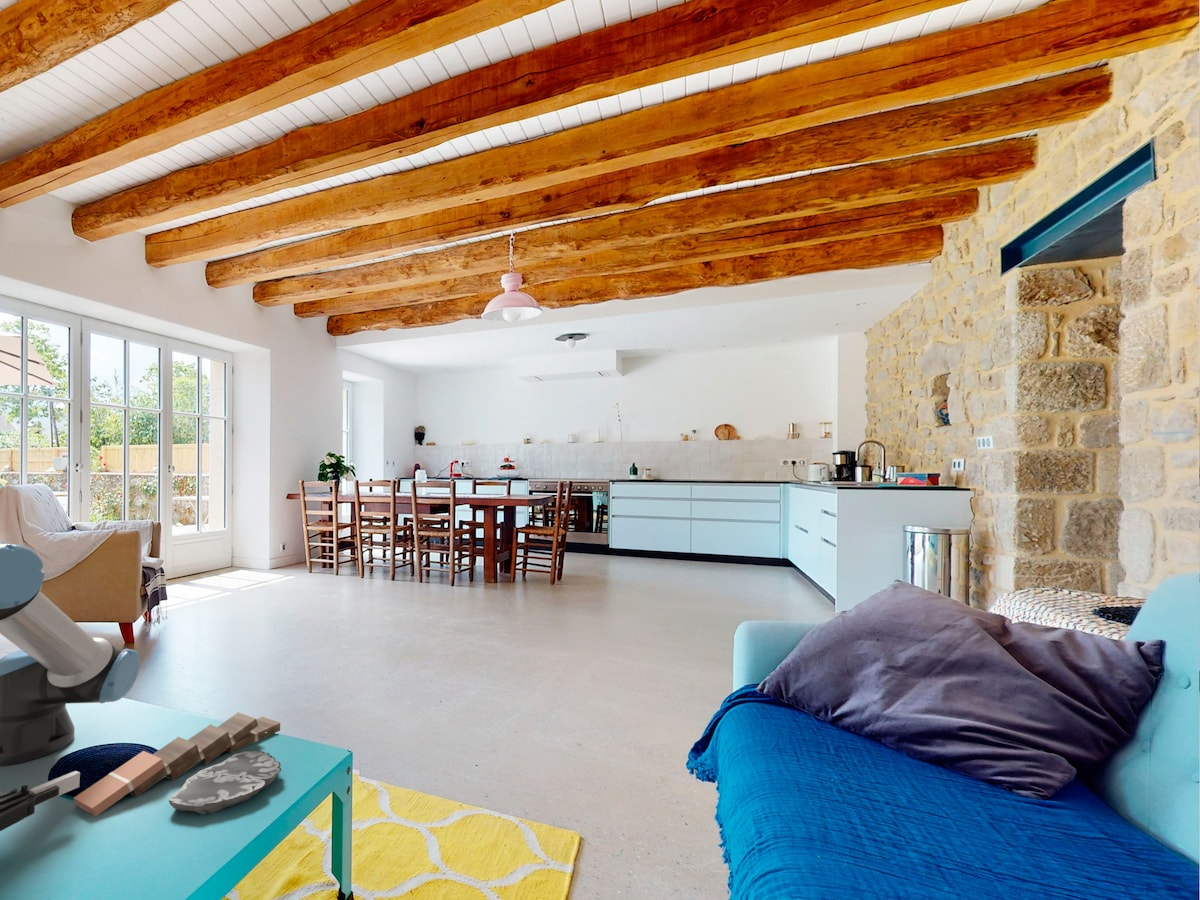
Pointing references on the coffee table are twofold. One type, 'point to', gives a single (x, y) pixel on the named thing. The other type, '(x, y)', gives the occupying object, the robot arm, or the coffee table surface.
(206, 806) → the brain slice
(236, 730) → the domino
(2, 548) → the robot arm
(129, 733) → the coffee table surface
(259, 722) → the domino
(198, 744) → the domino
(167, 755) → the domino
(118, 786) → the domino
